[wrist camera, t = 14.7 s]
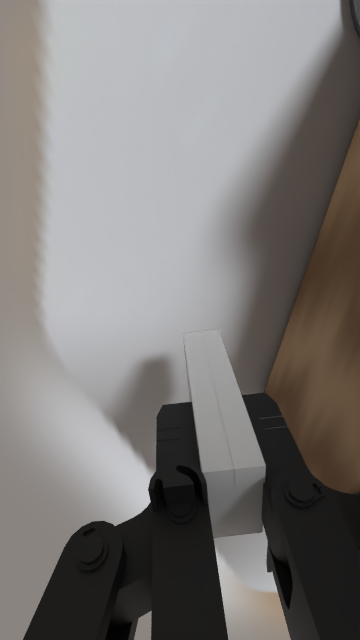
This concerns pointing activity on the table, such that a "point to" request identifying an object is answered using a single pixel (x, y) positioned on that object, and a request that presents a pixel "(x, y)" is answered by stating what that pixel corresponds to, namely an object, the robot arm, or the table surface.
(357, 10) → the hinge post
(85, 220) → the table surface
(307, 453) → the gate
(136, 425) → the table surface
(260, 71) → the table surface
